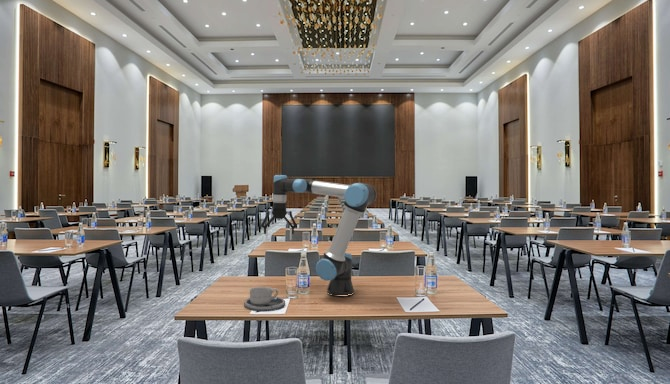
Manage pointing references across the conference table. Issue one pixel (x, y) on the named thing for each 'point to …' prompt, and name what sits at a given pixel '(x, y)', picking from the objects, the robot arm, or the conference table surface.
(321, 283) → the conference table surface
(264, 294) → the teacup
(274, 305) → the dark grey plate
